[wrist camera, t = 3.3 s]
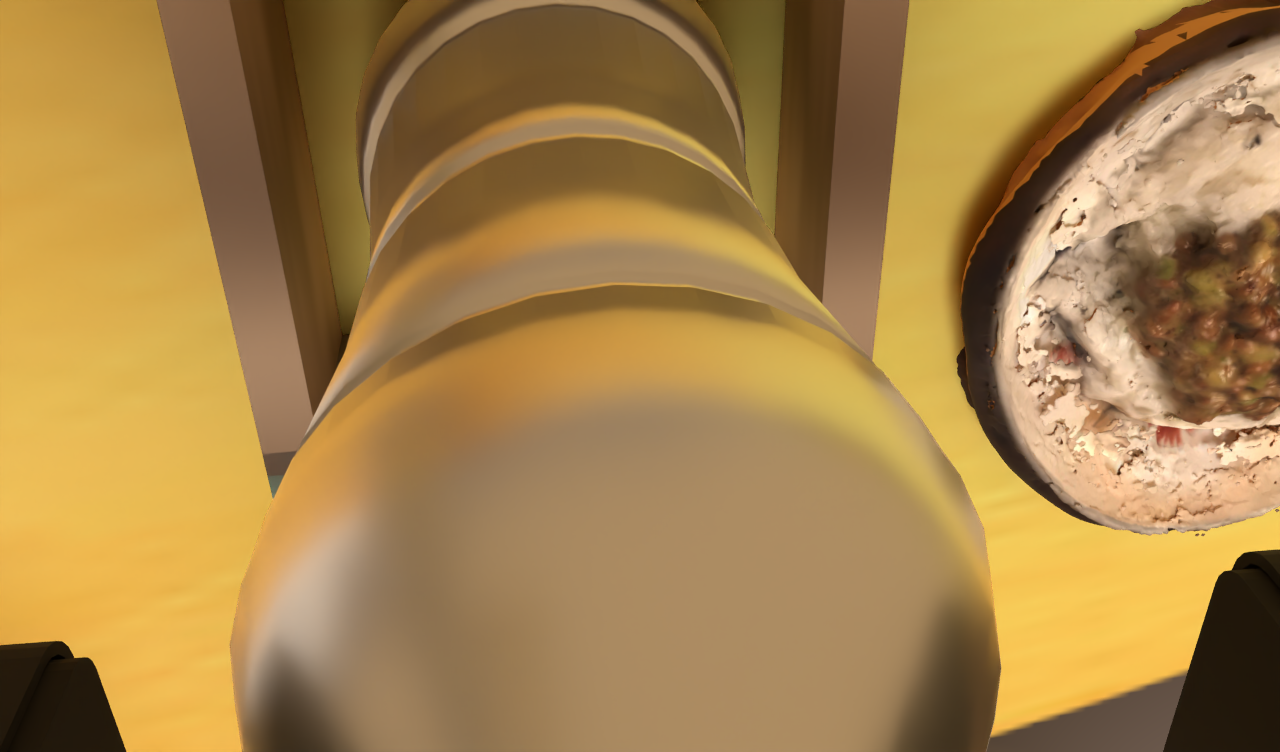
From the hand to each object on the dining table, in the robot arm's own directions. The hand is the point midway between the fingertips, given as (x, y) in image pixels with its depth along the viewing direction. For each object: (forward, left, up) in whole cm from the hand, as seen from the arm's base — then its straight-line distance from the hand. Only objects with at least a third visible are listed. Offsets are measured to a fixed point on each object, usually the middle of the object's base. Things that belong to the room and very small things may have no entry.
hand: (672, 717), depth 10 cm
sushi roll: (+5, +14, -16) cm, 22 cm away
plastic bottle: (0, 0, -15) cm, 15 cm away
